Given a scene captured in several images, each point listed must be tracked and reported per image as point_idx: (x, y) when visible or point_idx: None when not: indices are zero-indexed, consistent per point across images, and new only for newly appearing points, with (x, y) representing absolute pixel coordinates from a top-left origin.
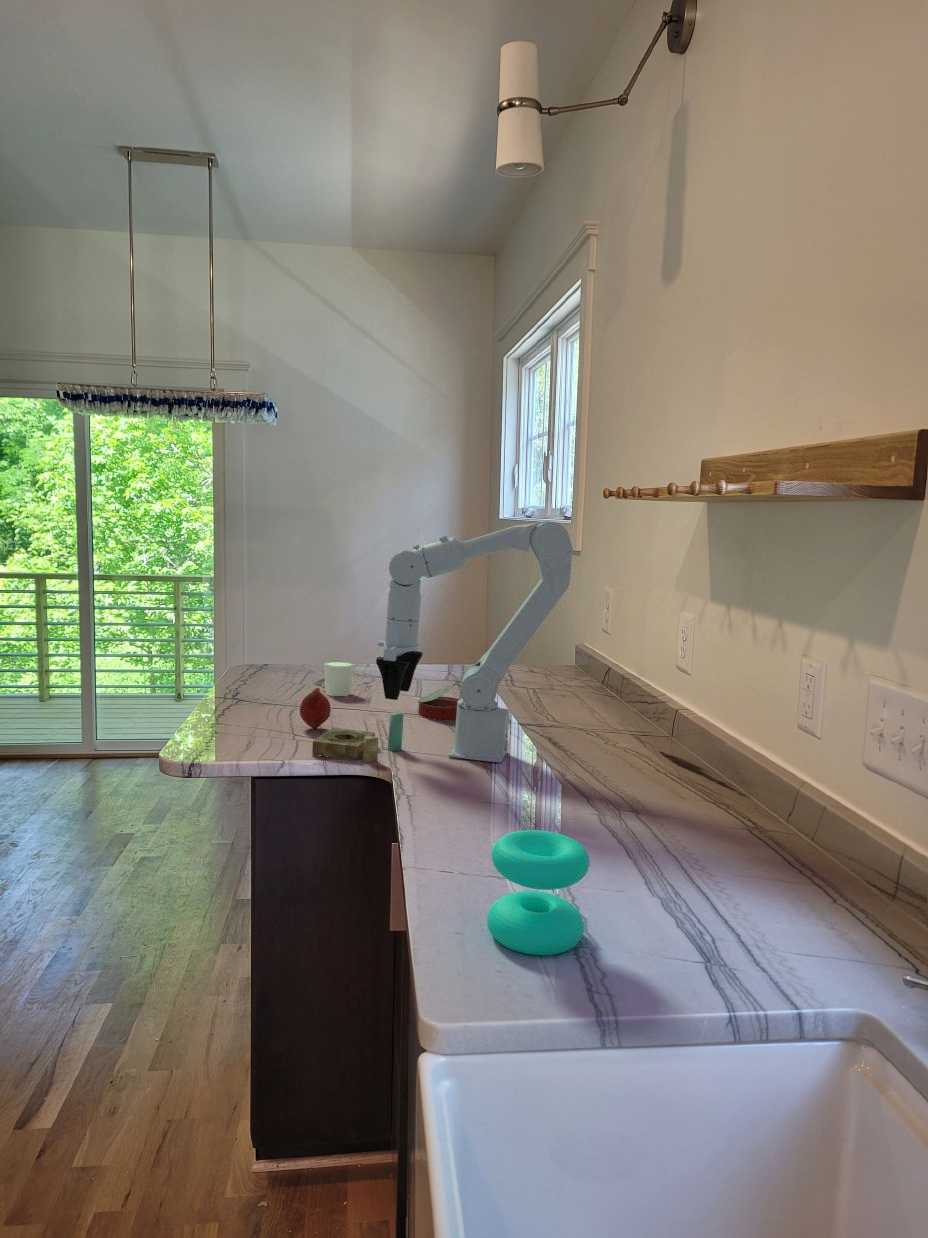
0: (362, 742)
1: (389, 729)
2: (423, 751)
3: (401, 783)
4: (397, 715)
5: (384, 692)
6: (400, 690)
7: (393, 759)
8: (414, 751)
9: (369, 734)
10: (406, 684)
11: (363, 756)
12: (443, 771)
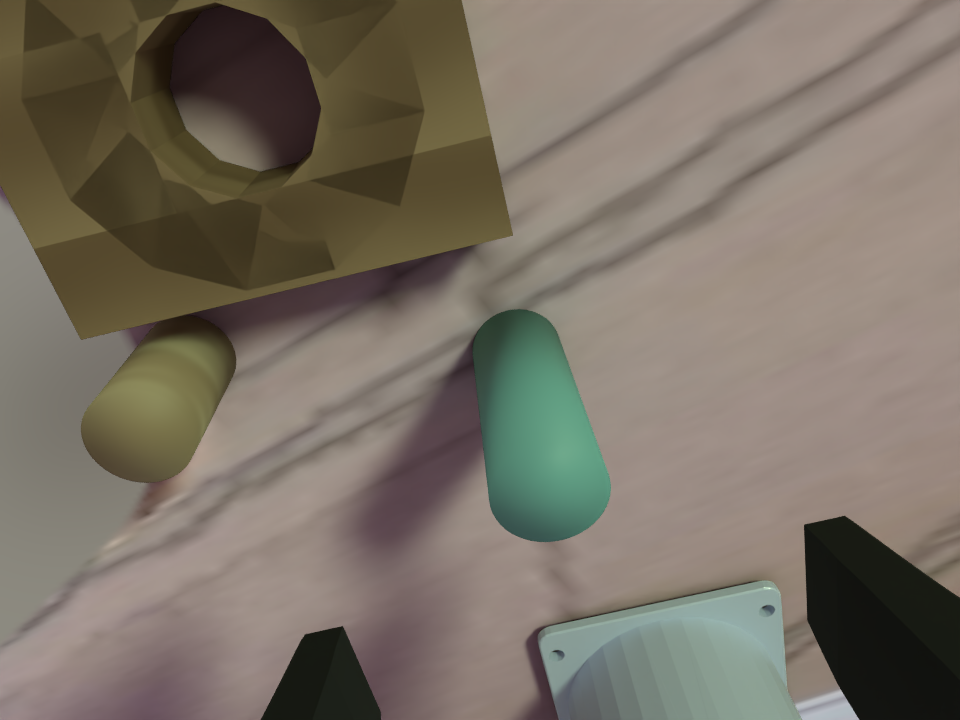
0: (198, 309)
1: (495, 389)
2: None
3: (3, 645)
4: (501, 521)
5: (280, 685)
6: (807, 559)
7: (320, 441)
8: None
9: (430, 234)
10: (850, 672)
11: (142, 341)
12: None
